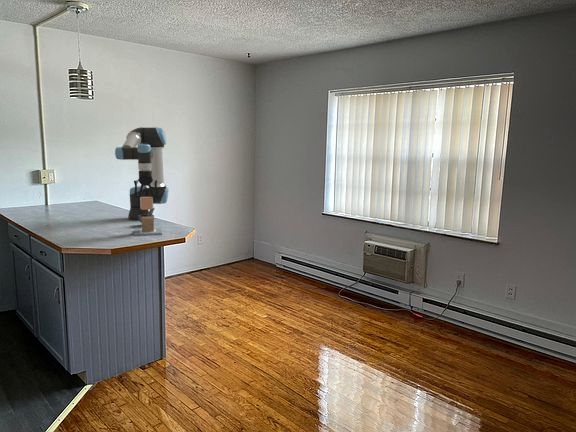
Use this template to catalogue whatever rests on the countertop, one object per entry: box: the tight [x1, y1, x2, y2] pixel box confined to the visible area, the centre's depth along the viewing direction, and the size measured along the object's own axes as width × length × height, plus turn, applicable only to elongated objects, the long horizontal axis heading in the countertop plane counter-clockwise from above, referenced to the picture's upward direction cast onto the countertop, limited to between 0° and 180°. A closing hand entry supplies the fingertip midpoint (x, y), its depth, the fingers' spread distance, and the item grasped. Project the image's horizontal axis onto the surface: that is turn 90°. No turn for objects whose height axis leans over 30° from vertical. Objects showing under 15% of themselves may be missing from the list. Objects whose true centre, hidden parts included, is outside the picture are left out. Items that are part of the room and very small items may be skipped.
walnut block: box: [140, 217, 155, 232], centre depth 272 cm, size 7×7×8 cm
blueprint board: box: [133, 227, 163, 237], centre depth 272 cm, size 16×16×1 cm
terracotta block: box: [141, 197, 152, 211], centre depth 269 cm, size 6×6×7 cm
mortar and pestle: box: [138, 207, 155, 224], centre depth 294 cm, size 11×9×12 cm
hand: (146, 208), depth 270 cm, fingers closed on terracotta block, 6 cm apart
